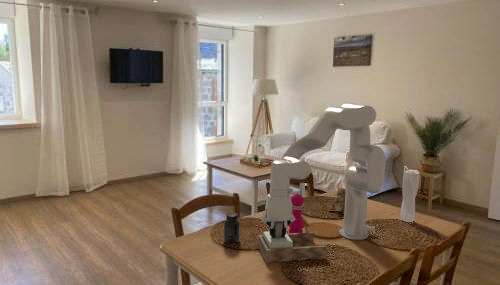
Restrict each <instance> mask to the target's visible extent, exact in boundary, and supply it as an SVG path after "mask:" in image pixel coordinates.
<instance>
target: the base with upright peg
mask: <svg viewBox="0 0 500 285" xmlns="http://www.w3.org/2000/svg"><path fill="white" fill-rule="evenodd" d="M274 229H275V234H274V238H272V237H271V235H270V230H269V231H263V234H262V235H263V240H264V242H265V244H266V245H267V247H268V249H278V248H293V241H292V240H291V239H290V237H289V236H288V235H287V234H288V233H287V232H286V235H285V238H283V237H282V230H283V222H282V221H275V222H274Z"/></svg>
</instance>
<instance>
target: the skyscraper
mask: <svg viewBox="0 0 500 285" xmlns="http://www.w3.org/2000/svg"><path fill="white" fill-rule="evenodd" d="M401 185H402V187H401V188H402V189H401V190H402V191H401V192H402V201H401V205H400V206H401V207H400V213H399V218H398V219H399V220H403V221H406V222H412V223H414V222H415V218H416V200H415V199H416V197H417V194H418V191H419V186H420V172H419V170H417V169H408V167H407V166H406V165H404V166H403V175H402V184H401ZM413 221H414V222H413Z"/></svg>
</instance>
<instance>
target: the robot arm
mask: <svg viewBox="0 0 500 285" xmlns="http://www.w3.org/2000/svg"><path fill="white" fill-rule="evenodd" d="M376 118H377V112H376V109H375V108H374V107H373V106H371V105H369V104H368V105H367V104H358V103H343V104H342V105H341V106H340V107H333V106H332V107H327V108H326V109H324V111H323V112H322V113H321V115H320V116H319V117H318V119H317V120H316V121H315V123H314V124H313V126H311V128H310V130H309V131H308V133H307V134H305V135H304V136H302V137H301V138H298V140H296V141H294V142H293V143H292V144H291V145H290V146H289V147H288V148H287V149H286V150H285V152H284V154H283V155H282V157H281V158H280V159H276V160H272V161H271V164H270V176H269V177H270V181H269V182H270V183H269V184H270V185H269V186H270V187H269V193H268V194H267V195H266V201H265V202H266V203H265V208H264V209H265V210H264V214H263V216H262V217H261V220H260V221H261V222H262V223H263V224H266V225H267V226H268V227H269V231H270V235H271V237H272V238H274V234H275V229H274V222H275V221H282V222H283V230H282V237H283V238H285V235H286V233H287V228H289V226H288V225H289V224H290V223H291V222H293V221H294V220H295V217H294V216H293V214H292V202H291V196H290V194H292V193H293V192H294V190H293V188H290V185H291V184H290V183H291V182H290V181H291V180H304V179H306V178H307V179H308V177H309V176H310V175H311V171H312V169H311V166H310V164H309V163H308V162H307V161H305V160H303V159H300V158H302V157H303V156H304V155H305V154H307V153H309V152H311V151H315V150H320V149H322V148H324V147H325V146H327V144H328V142H329V141H330V139H331V138H332V137H333V135H334V134H335V133H336V131H337V130H341V131H349V153H348V154H349V160H350V161H351V162H352V163H353V164H357V165H352V166H349V167H348V168H347V169H346V170H345V173H344V184H345V186H344V187H345V189H346V197H345V210H344V215H343V223H342V224H343V225H342V226H343V227H342V228H340V229H339V231H338V232H340V233H339V235H340V234H341V235H340V236H341V237H343V238H346V239H348V240H353V241H362V240H366V239H368V237H369V232H373V231H374V232H375V231H376V227H375V226H370V225H369V224H366V221H367V208H368V206H367V205H368V194H367V193H369V194H377V193H378V194H379V192H380V191H382V189H383V187H384V181H385V174H386V173H385V170H386V154H385V150H384V149H383V148H382V147H381V146H378V145H374V144H371V129H370V128H371V127H370V126H372V125H373V123H375V121H376ZM358 165H360V166H358ZM363 166H364V167H363Z"/></svg>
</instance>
